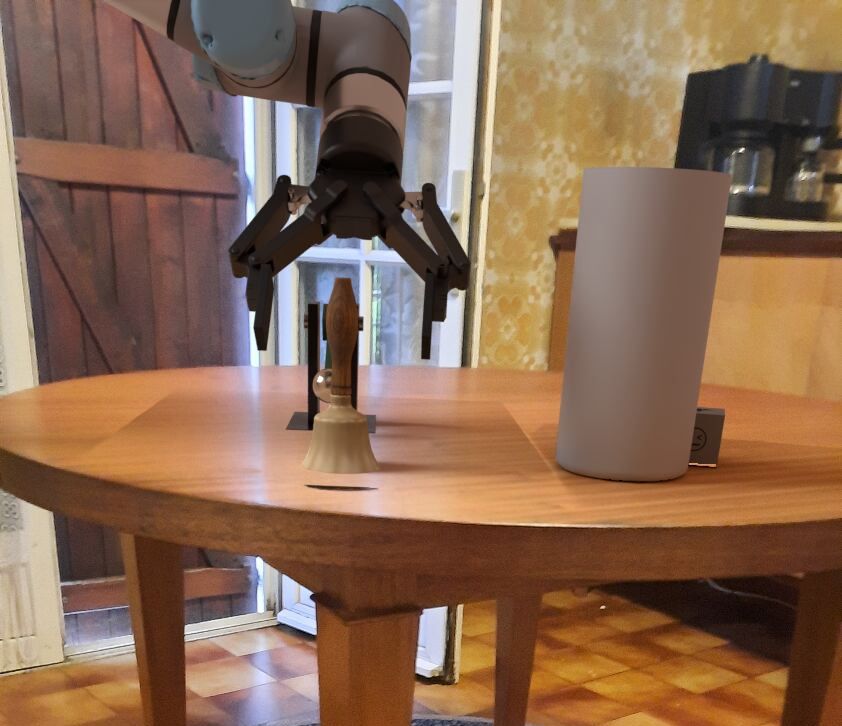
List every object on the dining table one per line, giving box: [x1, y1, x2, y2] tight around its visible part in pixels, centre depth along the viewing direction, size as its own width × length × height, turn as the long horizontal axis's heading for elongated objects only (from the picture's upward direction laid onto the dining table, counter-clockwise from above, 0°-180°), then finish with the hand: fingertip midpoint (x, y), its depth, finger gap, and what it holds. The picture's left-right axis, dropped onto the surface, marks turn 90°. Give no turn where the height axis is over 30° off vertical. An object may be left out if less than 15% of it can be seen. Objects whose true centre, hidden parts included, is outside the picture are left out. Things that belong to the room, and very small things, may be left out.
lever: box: [313, 303, 332, 404], centre depth 105 cm, size 13×3×3 cm, turn 1°
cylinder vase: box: [554, 166, 733, 482], centre depth 96 cm, size 12×12×25 cm
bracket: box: [285, 300, 377, 434], centre depth 110 cm, size 12×9×13 cm
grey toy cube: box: [689, 406, 726, 466], centre depth 107 cm, size 5×5×5 cm
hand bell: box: [300, 276, 381, 491], centre depth 88 cm, size 8×8×16 cm
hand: (342, 344), depth 87 cm, fingers open, 13 cm apart
